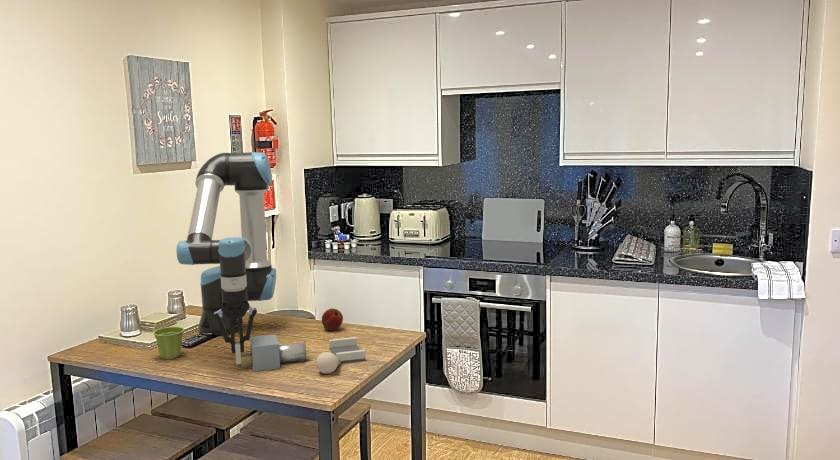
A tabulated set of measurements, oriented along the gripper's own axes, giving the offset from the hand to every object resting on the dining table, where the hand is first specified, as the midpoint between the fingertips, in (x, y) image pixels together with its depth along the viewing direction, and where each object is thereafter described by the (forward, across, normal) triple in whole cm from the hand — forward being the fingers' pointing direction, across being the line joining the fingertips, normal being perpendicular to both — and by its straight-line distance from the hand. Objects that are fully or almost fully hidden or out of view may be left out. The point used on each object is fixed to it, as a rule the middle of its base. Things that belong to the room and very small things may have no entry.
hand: (238, 362), depth 202 cm
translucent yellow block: (+2, +5, +1) cm, 5 cm away
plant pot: (+2, -21, +18) cm, 28 cm away
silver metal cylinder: (+2, +15, +1) cm, 15 cm away
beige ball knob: (+2, +27, -12) cm, 29 cm away
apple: (+2, +34, +28) cm, 44 cm away
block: (+2, +8, 0) cm, 8 cm away
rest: (+2, +34, 0) cm, 34 cm away
